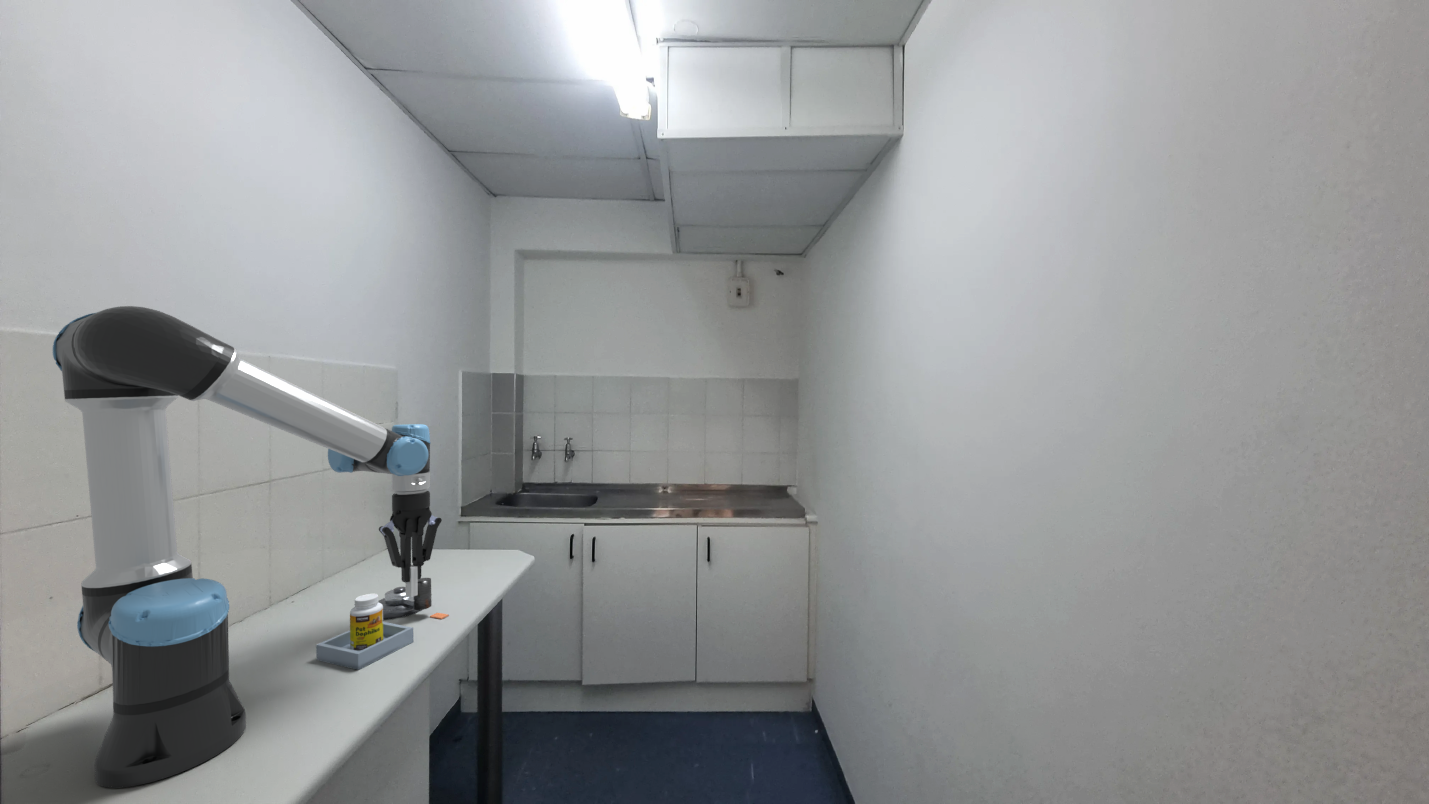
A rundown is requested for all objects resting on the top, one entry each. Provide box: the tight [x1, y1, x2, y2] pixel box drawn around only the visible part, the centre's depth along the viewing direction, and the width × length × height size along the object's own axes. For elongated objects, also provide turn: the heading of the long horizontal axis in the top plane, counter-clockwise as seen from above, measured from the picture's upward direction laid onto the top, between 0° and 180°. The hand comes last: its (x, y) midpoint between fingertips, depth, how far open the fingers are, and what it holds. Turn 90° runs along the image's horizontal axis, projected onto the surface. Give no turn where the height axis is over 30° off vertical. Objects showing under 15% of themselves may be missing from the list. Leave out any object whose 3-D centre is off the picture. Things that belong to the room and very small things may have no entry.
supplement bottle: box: [349, 593, 384, 651], centre depth 104 cm, size 6×6×10 cm
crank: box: [384, 577, 433, 611], centre depth 122 cm, size 14×6×6 cm, turn 62°
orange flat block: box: [429, 612, 450, 620], centre depth 120 cm, size 2×4×1 cm, turn 70°
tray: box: [315, 621, 414, 671], centre depth 104 cm, size 12×12×3 cm
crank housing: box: [378, 597, 422, 621], centre depth 124 cm, size 11×11×2 cm
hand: (411, 594), depth 118 cm, fingers closed
